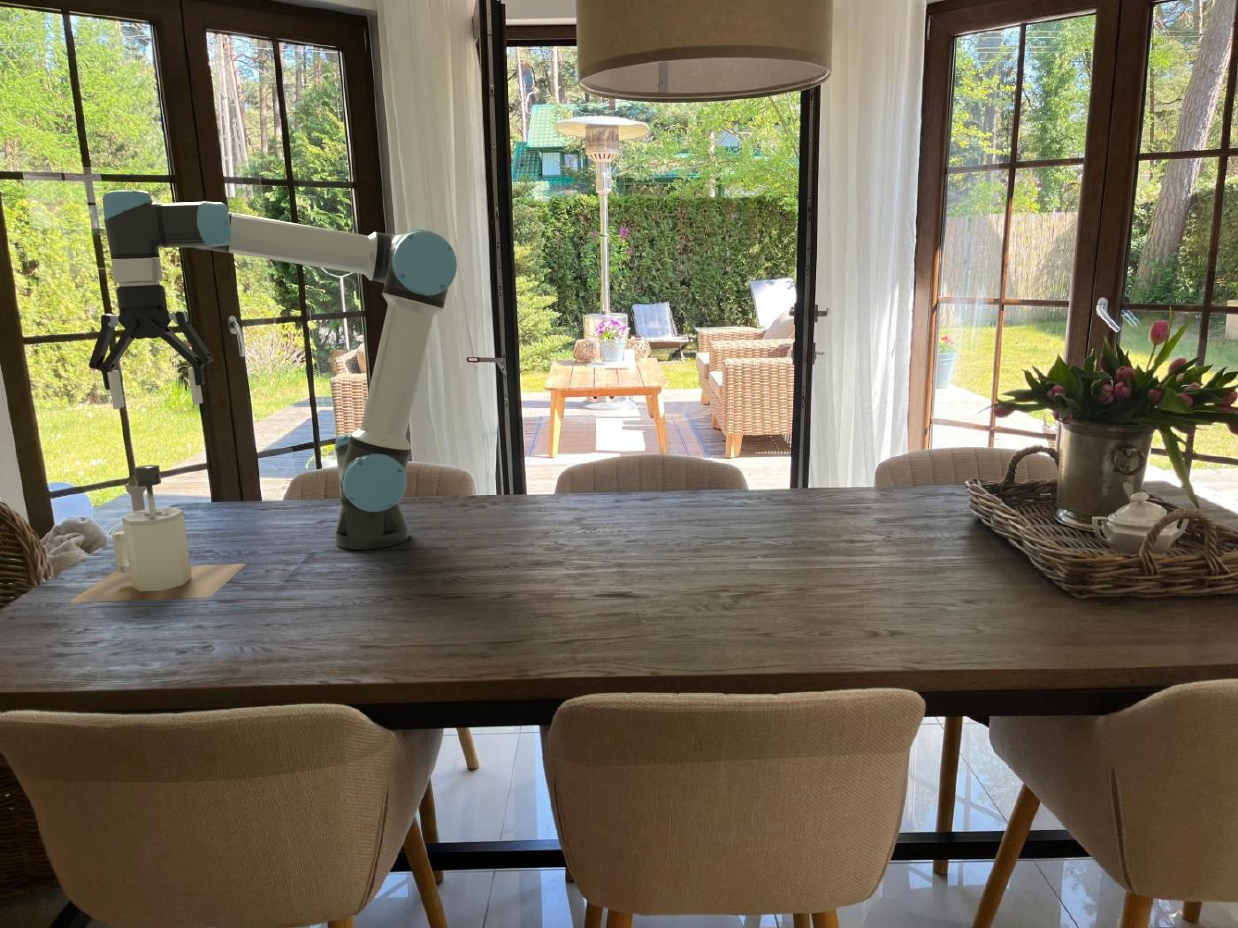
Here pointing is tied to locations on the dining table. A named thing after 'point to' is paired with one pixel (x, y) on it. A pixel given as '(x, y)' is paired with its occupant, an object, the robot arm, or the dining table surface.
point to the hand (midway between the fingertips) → (158, 406)
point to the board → (199, 586)
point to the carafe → (153, 549)
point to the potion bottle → (135, 494)
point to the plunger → (148, 482)
